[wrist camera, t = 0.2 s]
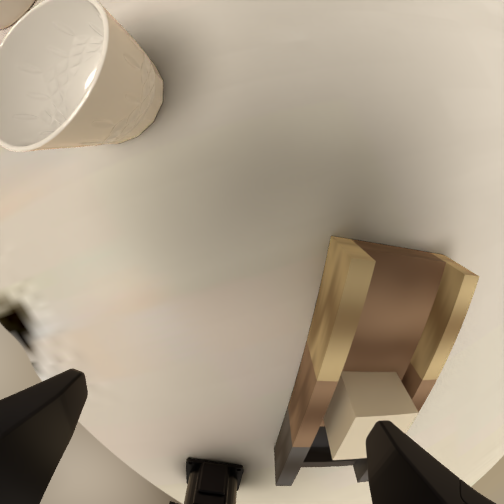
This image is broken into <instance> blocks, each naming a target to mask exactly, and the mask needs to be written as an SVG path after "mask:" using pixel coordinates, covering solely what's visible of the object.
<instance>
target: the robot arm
mask: <svg viewBox="0 0 504 504" xmlns="http://www.w3.org/2000/svg"><path fill="white" fill-rule="evenodd" d="M87 395H88V391H87V385H86V379H85V374H84V373H83V372H81V371H78V370H76V369H69V370H67V371H65V372H63V373H60V374H58V375H56V376H54V377H52V378H49V379H47V380H45V381H43V382H40V383H38V384H36V385H34V386H31V387H29V388H27V389H25V390H23V391H20V392H18V393H16V394H13V395H11V396H9V397H6V398H4V399H2V400H0V504H40V501H41V499H42V497H43V494H44V492H45V491H46V488H47V486H48V484H49V482H50V480H51V477H52V476H53V474H54V472H55V469H56V467H57V465H58V463H59V461H60V459H61V457H62V455H63V453H64V451H65V449H66V447H67V445H68V444H69V441H70V439H71V437H72V435H73V433H74V430H75V427H76V425H77V422H78V420H79V417H80V414H81V412H82V409H83V407H84V404H85V401H86V399H87ZM366 454H367V467H368V480H369V486H370V492H371V497H372V503H373V504H496V503H494V502H492V501H491V500H489V499H488V498H486V497H484V496H483V495H481V494H480V493H478V492H477V491H476V490H474V489H473V488H471V487H470V486H469V485H467V484H466V483H465V482H464V481H462V480H461V479H459V477H457V476H456V475H455V474H454V473H452V472H451V471H450V470H449V469H447V468H446V467H445V466H444V465H442V464H441V463H440V462H439V461H437V460H436V459H435V458H434V457H433V456H431V455H430V454H429V453H428V452H426V451H425V450H424V449H423V448H422V447H420V446H419V445H418V444H417V443H416V442H414V441H413V440H412V439H411V438H410V437H408V436H407V435H406V434H405V433H404V432H403V431H401V430H400V429H399V428H398V427H397V426H395V425H394V424H393V423H392V422H391V421H388V420H383V421H377V422H376V423H375V425H374V426H373V428H372V430H371V431H370V433H369V434H368V436H367V438H366ZM242 474H243V466H241V465H234V464H225V463H217V462H210V461H203V460H197V459H191V458H188V459H187V461H186V475H187V484H188V485H187V491H186V496H185V501H184V504H236V493H237V491H238V489H239V485H240V481H241V477H242ZM169 504H178V503H175V502H171V501H170V503H169Z"/></svg>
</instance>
